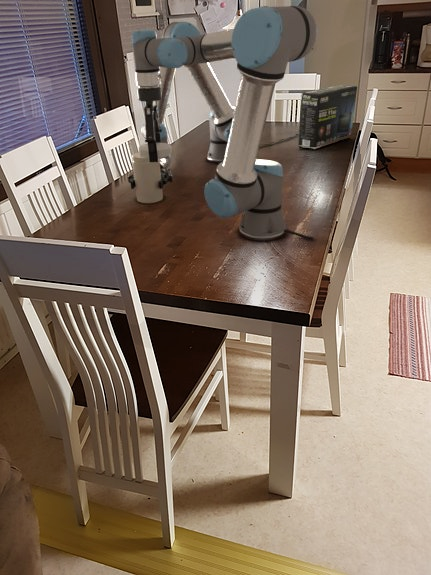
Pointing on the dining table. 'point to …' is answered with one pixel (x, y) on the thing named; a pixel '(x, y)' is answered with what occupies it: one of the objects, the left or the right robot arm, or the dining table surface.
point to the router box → (326, 115)
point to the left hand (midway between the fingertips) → (146, 185)
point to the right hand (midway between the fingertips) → (155, 157)
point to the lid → (162, 150)
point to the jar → (147, 179)
